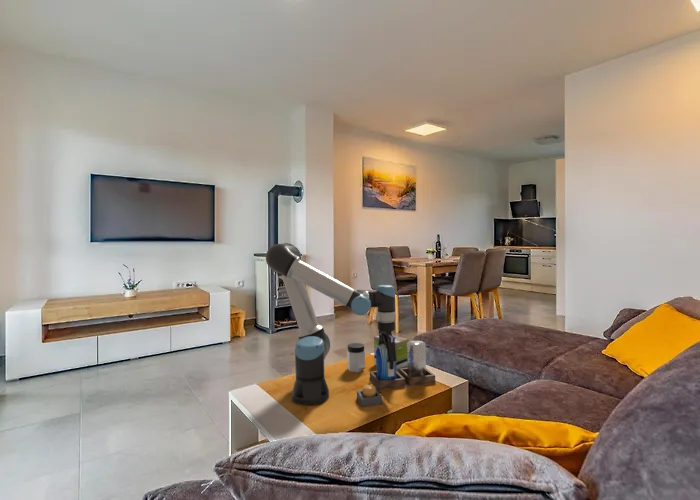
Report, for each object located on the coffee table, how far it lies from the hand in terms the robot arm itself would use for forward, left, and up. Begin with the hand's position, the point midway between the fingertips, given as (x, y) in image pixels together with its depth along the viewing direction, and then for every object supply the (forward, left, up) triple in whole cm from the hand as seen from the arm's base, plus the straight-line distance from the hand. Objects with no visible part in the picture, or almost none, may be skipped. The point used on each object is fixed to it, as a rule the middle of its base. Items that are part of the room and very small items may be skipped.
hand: (386, 371), depth 157 cm
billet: (+14, 0, -5) cm, 15 cm away
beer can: (0, 0, -5) cm, 5 cm away
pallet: (+7, 0, -6) cm, 9 cm away
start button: (-12, -13, -4) cm, 18 cm away
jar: (-8, +22, -6) cm, 25 cm away
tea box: (+10, +21, -6) cm, 25 cm away
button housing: (-12, -13, -6) cm, 18 cm away
